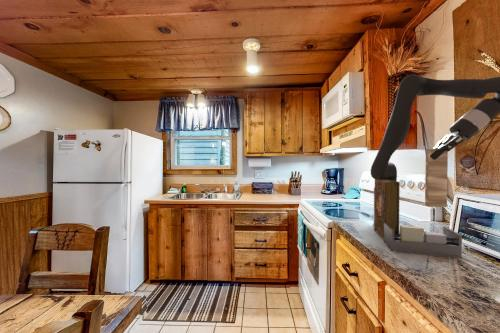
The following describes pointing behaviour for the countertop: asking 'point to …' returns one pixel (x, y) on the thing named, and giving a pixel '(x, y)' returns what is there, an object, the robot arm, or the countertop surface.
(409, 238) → the sage offcut
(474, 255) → the countertop surface
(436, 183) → the birch board
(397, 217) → the book
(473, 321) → the countertop surface
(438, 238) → the pale grey block
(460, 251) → the rack
